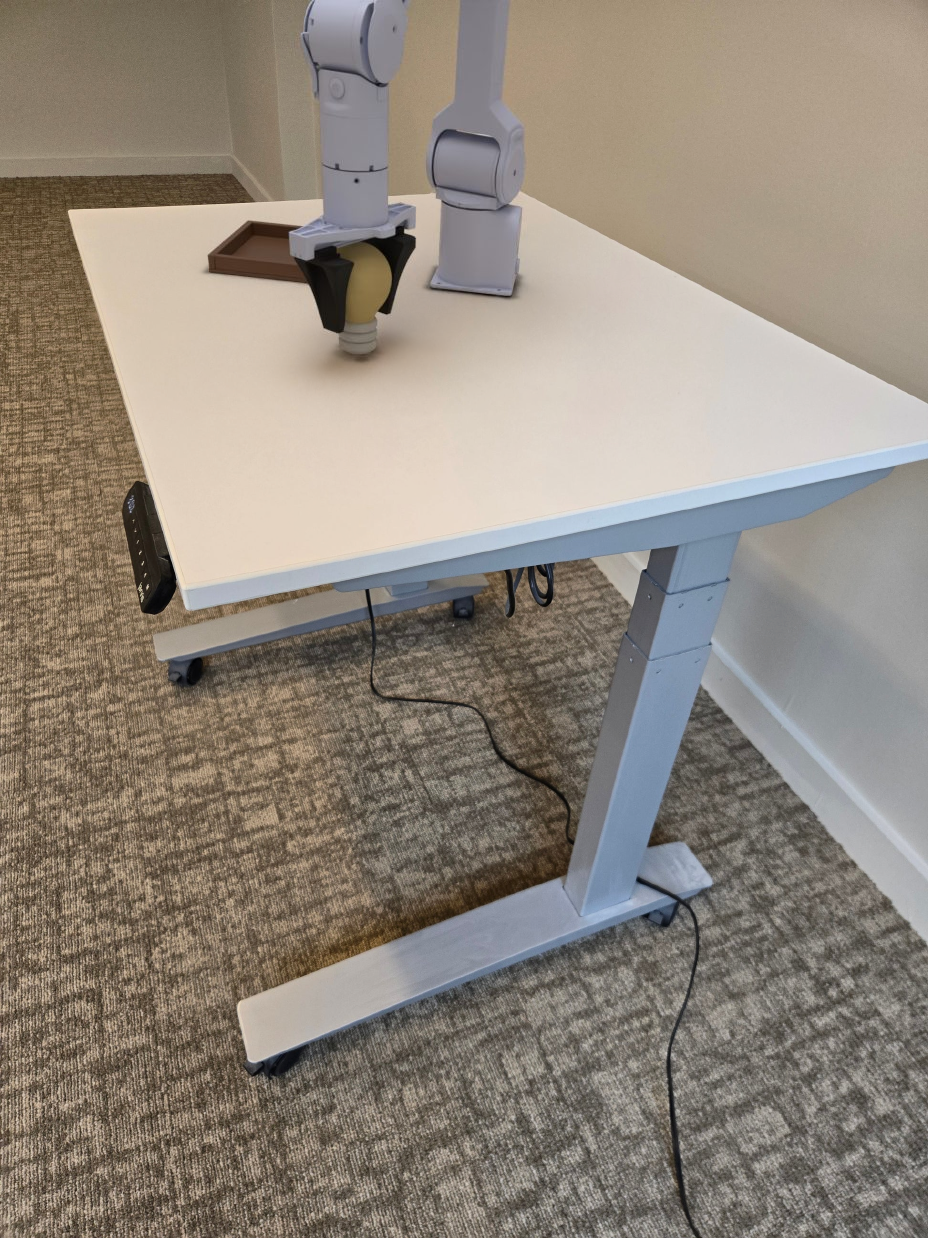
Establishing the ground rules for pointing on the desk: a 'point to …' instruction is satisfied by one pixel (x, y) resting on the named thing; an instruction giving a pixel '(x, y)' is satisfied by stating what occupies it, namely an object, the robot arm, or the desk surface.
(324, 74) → the robot arm
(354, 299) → the light bulb
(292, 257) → the tray
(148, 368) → the desk surface
